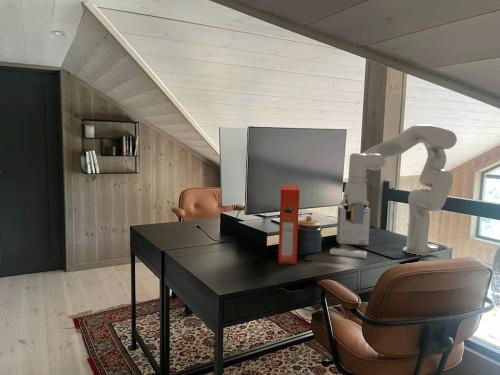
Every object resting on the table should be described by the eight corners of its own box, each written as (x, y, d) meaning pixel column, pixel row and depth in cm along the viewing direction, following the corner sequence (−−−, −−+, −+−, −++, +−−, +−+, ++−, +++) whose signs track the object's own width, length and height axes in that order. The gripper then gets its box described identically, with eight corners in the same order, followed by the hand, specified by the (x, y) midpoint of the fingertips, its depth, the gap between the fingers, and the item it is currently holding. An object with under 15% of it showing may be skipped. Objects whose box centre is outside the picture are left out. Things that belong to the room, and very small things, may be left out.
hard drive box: (365, 244, 207) (368, 206, 204) (368, 248, 199) (371, 209, 197) (335, 242, 208) (338, 205, 206) (337, 246, 200) (339, 207, 198)
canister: (320, 257, 180) (322, 219, 178) (291, 254, 183) (293, 217, 181) (321, 249, 192) (323, 214, 190) (295, 247, 195) (297, 212, 193)
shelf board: (366, 254, 187) (367, 247, 186) (365, 261, 176) (366, 254, 175) (332, 250, 192) (333, 243, 191) (329, 257, 180) (330, 249, 180)
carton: (354, 220, 186) (355, 201, 185) (363, 223, 180) (364, 204, 179) (344, 220, 184) (345, 201, 183) (352, 223, 178) (354, 204, 177)
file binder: (277, 263, 169) (281, 189, 166) (277, 251, 186) (280, 184, 183) (296, 264, 169) (300, 190, 165) (294, 252, 186) (298, 185, 182)
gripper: (367, 179, 186) (364, 217, 188) (335, 179, 181) (333, 218, 183) (377, 181, 179) (374, 220, 181) (344, 181, 173) (342, 221, 176)
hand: (353, 218), depth 182 cm, fingers closed on carton, 5 cm apart
